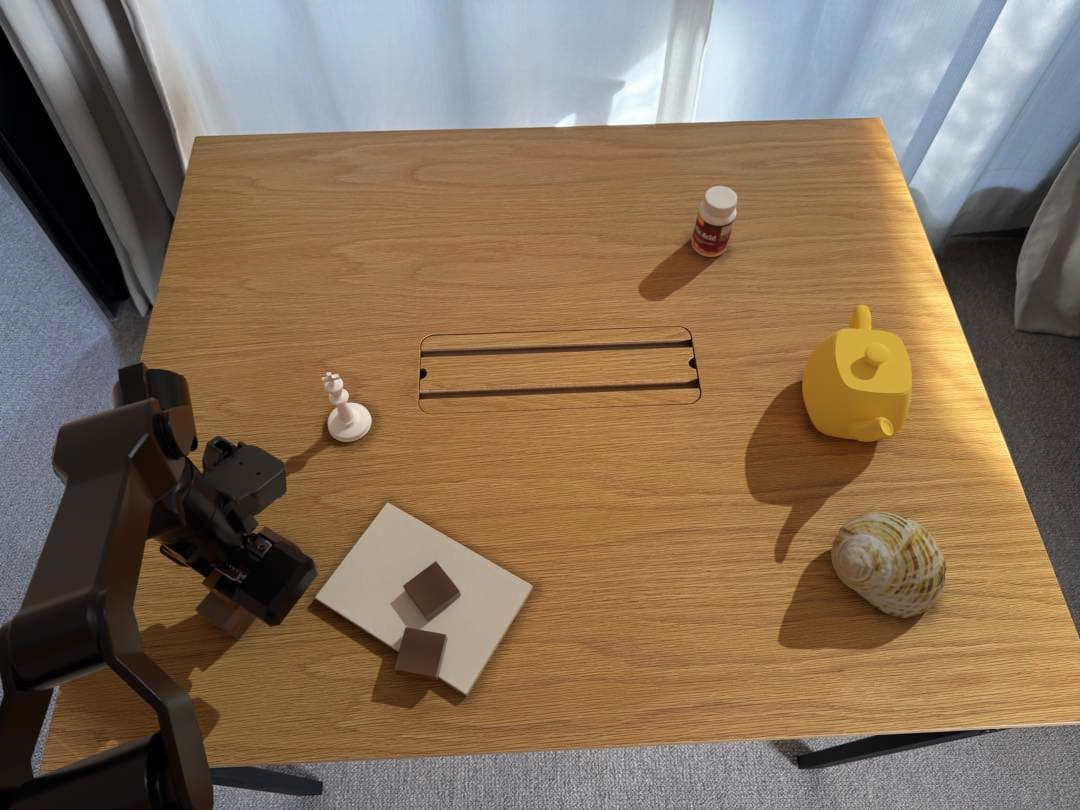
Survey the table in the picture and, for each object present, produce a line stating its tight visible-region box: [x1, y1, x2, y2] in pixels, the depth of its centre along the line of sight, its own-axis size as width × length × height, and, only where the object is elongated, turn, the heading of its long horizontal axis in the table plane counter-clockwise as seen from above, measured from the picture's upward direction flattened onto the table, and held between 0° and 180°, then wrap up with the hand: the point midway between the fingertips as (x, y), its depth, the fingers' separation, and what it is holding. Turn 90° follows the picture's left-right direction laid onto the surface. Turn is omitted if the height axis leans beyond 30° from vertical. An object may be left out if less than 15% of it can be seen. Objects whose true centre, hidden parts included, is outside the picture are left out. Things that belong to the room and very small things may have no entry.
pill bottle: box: [691, 185, 738, 258], centre depth 98 cm, size 5×5×8 cm
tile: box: [314, 501, 534, 697], centre depth 76 cm, size 12×18×1 cm, turn 59°
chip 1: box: [403, 561, 461, 621], centre depth 75 cm, size 4×4×2 cm
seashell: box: [830, 511, 947, 619], centre depth 75 cm, size 10×10×10 cm
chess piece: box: [321, 371, 373, 443], centre depth 83 cm, size 5×5×10 cm
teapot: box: [801, 304, 913, 443], centre depth 83 cm, size 18×11×11 cm, turn 174°
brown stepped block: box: [194, 525, 303, 641], centre depth 74 cm, size 10×4×7 cm, turn 149°
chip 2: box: [393, 627, 448, 682], centre depth 72 cm, size 4×4×2 cm
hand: (245, 575), depth 74 cm, fingers closed on brown stepped block, 2 cm apart
